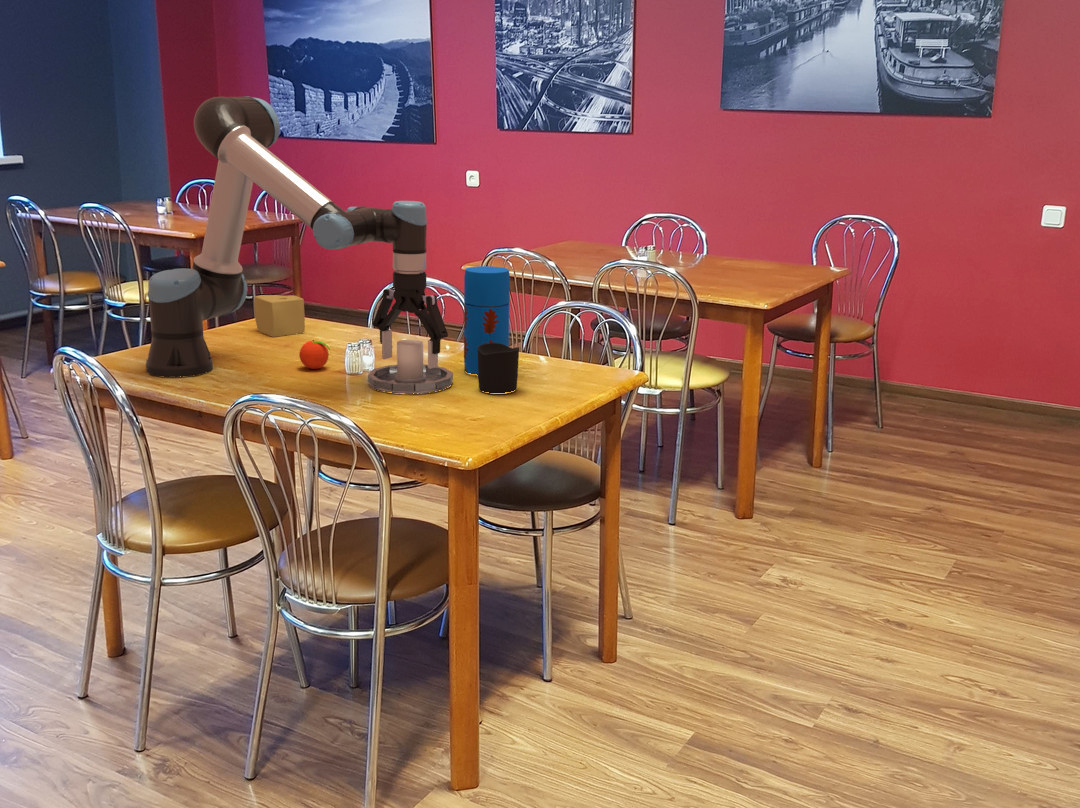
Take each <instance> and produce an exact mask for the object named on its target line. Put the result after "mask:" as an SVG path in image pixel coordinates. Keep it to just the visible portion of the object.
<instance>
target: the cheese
mask: <svg viewBox="0 0 1080 808" xmlns="http://www.w3.org/2000/svg"><path fill="white" fill-rule="evenodd" d="M253 313H254V319H255V324H256V330H257V332H258V331H259V333H262V334H265V335H266V334H267V336H270V337H273V338H275V337H276V338H277V337H285V335H286V336H290V335H291V334H293V335H297V334H296V333H301V334H304V333H305V332H306V331H305V329H306V328H305V327H306V326H305V325H306V324H305V323H306V322H305V301H304V298H302V297H300V296H297V295H293V294H292V295H281V294H274V295H273V294H264V295H255V296H254V298H253ZM303 332H304V333H303Z"/></svg>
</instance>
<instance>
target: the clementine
mask: <svg viewBox="0 0 1080 808" xmlns="http://www.w3.org/2000/svg"><path fill="white" fill-rule="evenodd" d="M329 352H330V353H332V352H331V349H330V347H329V345H327V344H326V343H325V342H323V341H320V340H319V341H318V340H314V339H312V340H309V341H306V342H305V343H304V344H303V345H301V346H300V350H299V360H300V362H301V364H302V365H303V367H306V368H307V369H310V370H318V369H321V368H322V367H324V366H325V365H326V364H327V362H328V359H329Z"/></svg>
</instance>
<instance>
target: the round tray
mask: <svg viewBox="0 0 1080 808" xmlns="http://www.w3.org/2000/svg"><path fill="white" fill-rule="evenodd" d="M423 373H424V374H425V375H426V382H422V383H396V382H395V374H397V364H392V365H391V364H390V365H389V364H388V365H385V366H381V367H376V368H373V369H371V371H370V372H369V373H368V374H367V382H368V385H369V387H370V386H371V387H372V388H374V389H376V390H375V391H377V390H379V391H378V392H380V391H385V392H392V393H405V394H413V393H414V394H417V393H419V394H418V395H421V394H420V393H429V392H435V391H439V390H443V389H445V388H447V387H449V386H450V385H451V384H452V385H453V380H454V372H453V371H451V370H449V369H447V368H446V367H444V366H438V367H434V368H431V369H430V368H428V364H426V363H425V364H424V363H423ZM371 387H370V388H371ZM372 388H371V389H372ZM374 389H373V390H374ZM443 391H444V390H443ZM435 393H436V392H435ZM429 394H430V393H429Z"/></svg>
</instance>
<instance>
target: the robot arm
mask: <svg viewBox="0 0 1080 808" xmlns="http://www.w3.org/2000/svg"><path fill="white" fill-rule="evenodd" d="M274 109H275V108H273V106H272V105H271V104H270V103H268V102H267V101H266V100H264V99H262V98H258V97H252V96H247V95H244V96H214V97H210V98H209V99H206V100H204V101H203V102H202V103H201V104H200V105H199V106H198V107H197V109H196V112H195V114H194V117H193V128H194V133H195V135H196V138H197V140H198V141H199V143H200V144H201V145H202V147H203V148H204V149H206V151H207V152H209V153H210V155H212V156H214V157H215V158H216V159H217V160H218V162H217V165H216V166H217V167H216V172H215V177H214V185H213V189H212V195H211V200H210V205H209V210H208V216H207V222H206V226H205V232H204V238H203V243H202V249H201V253H200V254H198V255H196V256H195V257H194V258H193V262H192V268H184V267H183V268H182V267H181V268H173V269H167V270H162V271H159V272H156V273H155V274H152V276H150V278H149V280H148V286H147V288H148V291H147V298H148V308H149V309H148V310H149V319H150V321H149V322H150V330H151V331H150V333H151V343H150V346H149V350H148V354H147V359H146V362H145V367H146V368H145V369H146V373H147V374H149V375H151V376H153V375H154V376H153V377H159V376H164V377H163V378H184V377H183V376H188V377H194V376H193V375H195V376H199V374H200V375H204V374H207V373H209V371H210V372H211V371H213V369H214V363H213V362H214V361H213V357H212V356H211V352H210V350H209V347H208V345H207V342H206V340H205V337H204V322H203V321H207V320H211V319H213V318H217V317H225V316H228V315H229V314H231V313H234V312H236V311H237V310H239V309H241V307H242V306H243V304H244V303H245V301H246V300H247V299H246V298H247V296H248V282H246V280H245V279H246V278H245V275H244V274H243V266H242V265H241V264H240V262H239V256H240V251H241V246H242V241H243V236H244V232H245V231H244V230H245V225H246V221H247V214H248V211H249V205H250V201H251V196H252V195H251V194H252V190H253V186H254V185H253V184H255V185H257V186H258V187H259V188H260V189H262V190H263V191H264V192H266V193H267V194H268V195H269V196H271V197H272V199H274V200H275V201H277V202H278V203H279V204H281V205H282V207H284V208H285V209H286V210H287V211H289V212H290V213H292V214H293V215H294V216H295V217H297V218H298V219H299V220H300V221H301V222H302V223H304V224H305V225H306V226H308V227H309V228H310V229H311V230H312V234H313V237H314V239H315V241H316V243H317V245H319V246H320V247H321V248H323V249H325V250H341V249H345V248H348V247H352V246H356V245H362V244H367V243H372V242H373V243H374V242H376V243H388V244H392V269H393V272H392V287H393V288H392V287H391V288H385V289H383V291H382V299H381V302H380V304H379V307H378V309H377V311H376V314H375V317H374V319H373V321H372V326H373V327H376V328H377V329H378V330H379V344H380V345H381V359H382V360H386V359H387V360H388V359H390V358H393V330H392V329H391V326H392V325H393V324H394V322H395V321H396V319H397V318H399V316H400V314H401V313H402V312H404V313H405V312H407V313H411V314H413V313H414V315H415V316H416V317H417V318H418V320H419V321H420V323H421V324H422V326H423V328H424V329H425V331H426V332H427V334H428V336H429V338H430V339H427V365H428V368H430V369H431V368H434V367H439V354H440V353H441V340H442V339H445V338H448V336H449V333H448V330H447V328H446V325H445V322H444V319H443V317H442V313H441V311H440V309H439V306H438V297H437V295H436V294H433V295H426V292H425V291H426V287H427V273H426V269H427V228H428V227H427V225H428V220H427V207H426V205H425V203H424V202H422V201H416V200H398V201H397V200H396V201H394V202H393V203H392V208H391V209H390V208H377V207H367V206H350V207H348V208H347V209H346V210H344V209H343V208H341V207H340V206H339V205H337V204H336V203H335V202H333V200H331V199H330V198H329V197H327V195H325V194H324V193H322V192H321V191H320V190H319V189H317V188H316V187H315V186H314V185H313V184H311V183H310V182H309V181H307V180H306V178H304V177H303V176H301V175H300V174H299V173H298V172H296V171H295V170H294V169H293V168H291V167H290V166H289V165H288V164H287V163H286V162H284V161H283V160H282V159H281V158H279V157H278V156H277V155H275V154H274V153H273V152H272V151H270V150H269V149H268V148H270V147H272V146H273V145H274V144H276V142H277V140H278V138H279V136H280V132H281V131H280V128H281V126H280V120H279V116H278V114H277V113H276V111H275V110H274ZM394 300H395V302H394V304H393V305H392V303H393V301H394ZM391 306H392V307H391ZM390 308H391V309H390ZM206 372H207V373H206ZM180 376H181V377H180Z"/></svg>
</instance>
